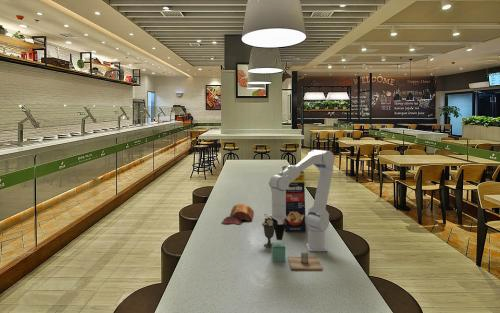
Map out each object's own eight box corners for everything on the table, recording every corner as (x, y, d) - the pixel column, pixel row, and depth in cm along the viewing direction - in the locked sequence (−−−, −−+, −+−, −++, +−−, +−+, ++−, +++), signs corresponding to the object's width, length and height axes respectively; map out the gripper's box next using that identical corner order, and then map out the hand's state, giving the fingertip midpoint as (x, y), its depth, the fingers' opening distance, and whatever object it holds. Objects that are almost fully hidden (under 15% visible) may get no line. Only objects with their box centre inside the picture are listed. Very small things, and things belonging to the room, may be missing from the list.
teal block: (271, 256, 157) (271, 242, 156) (284, 256, 157) (284, 242, 156) (272, 261, 152) (272, 246, 151) (285, 261, 152) (285, 246, 151)
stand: (288, 258, 154) (288, 247, 154) (316, 258, 154) (317, 247, 154) (291, 270, 142) (291, 258, 142) (322, 270, 142) (322, 258, 142)
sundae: (258, 245, 170) (258, 213, 168) (268, 242, 175) (268, 211, 173) (269, 249, 165) (269, 216, 164) (279, 245, 170) (279, 213, 169)
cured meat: (221, 225, 203) (221, 213, 203) (224, 213, 228) (224, 202, 228) (254, 226, 203) (254, 213, 203) (253, 214, 228) (253, 203, 228)
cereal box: (282, 218, 217) (281, 164, 213) (302, 218, 216) (301, 163, 213) (284, 233, 190) (283, 171, 187) (306, 232, 190) (305, 170, 186)
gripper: (268, 200, 159) (267, 231, 160) (270, 208, 145) (269, 242, 146) (284, 200, 159) (284, 231, 160) (288, 208, 145) (287, 242, 146)
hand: (278, 236), depth 153 cm, fingers open, 7 cm apart
